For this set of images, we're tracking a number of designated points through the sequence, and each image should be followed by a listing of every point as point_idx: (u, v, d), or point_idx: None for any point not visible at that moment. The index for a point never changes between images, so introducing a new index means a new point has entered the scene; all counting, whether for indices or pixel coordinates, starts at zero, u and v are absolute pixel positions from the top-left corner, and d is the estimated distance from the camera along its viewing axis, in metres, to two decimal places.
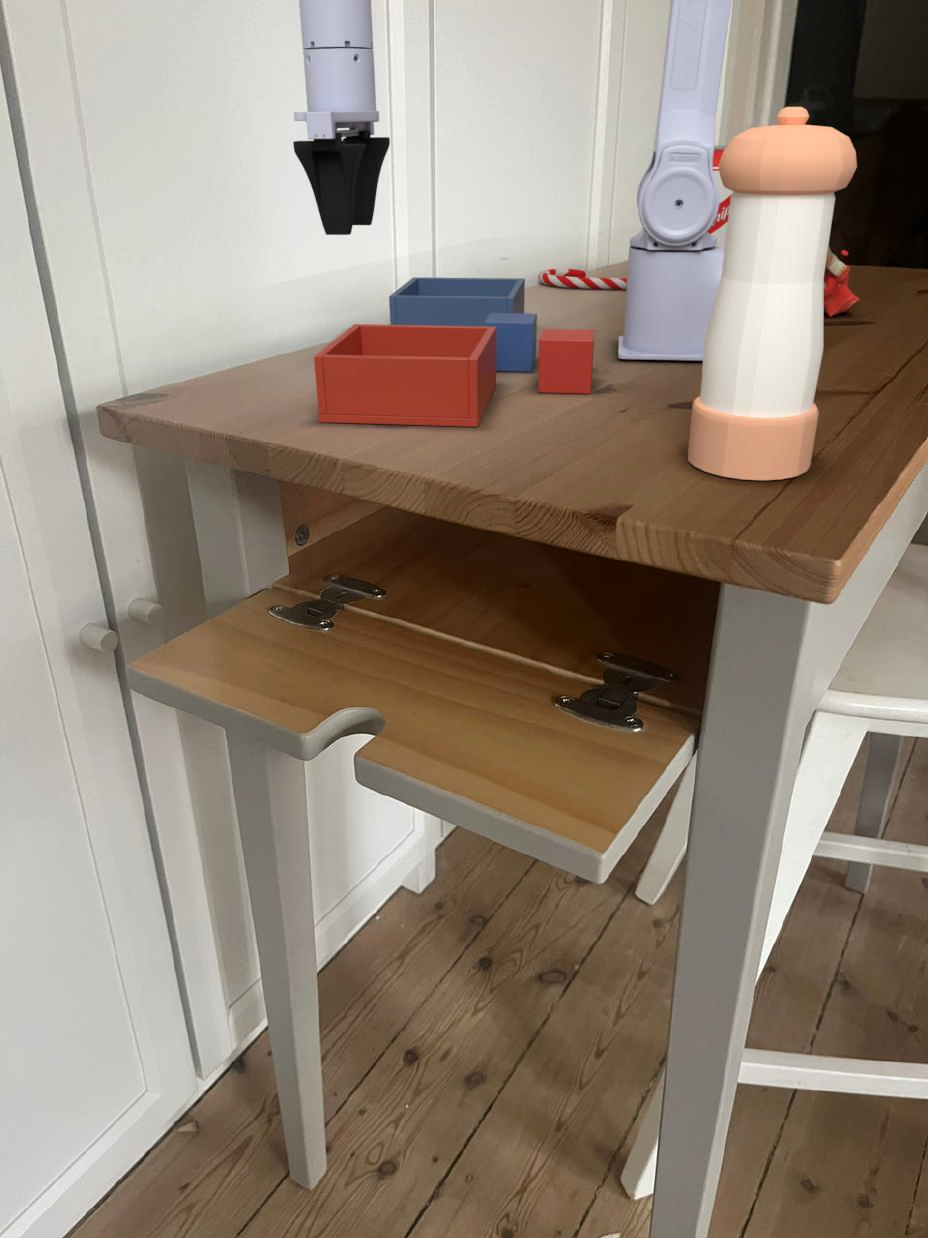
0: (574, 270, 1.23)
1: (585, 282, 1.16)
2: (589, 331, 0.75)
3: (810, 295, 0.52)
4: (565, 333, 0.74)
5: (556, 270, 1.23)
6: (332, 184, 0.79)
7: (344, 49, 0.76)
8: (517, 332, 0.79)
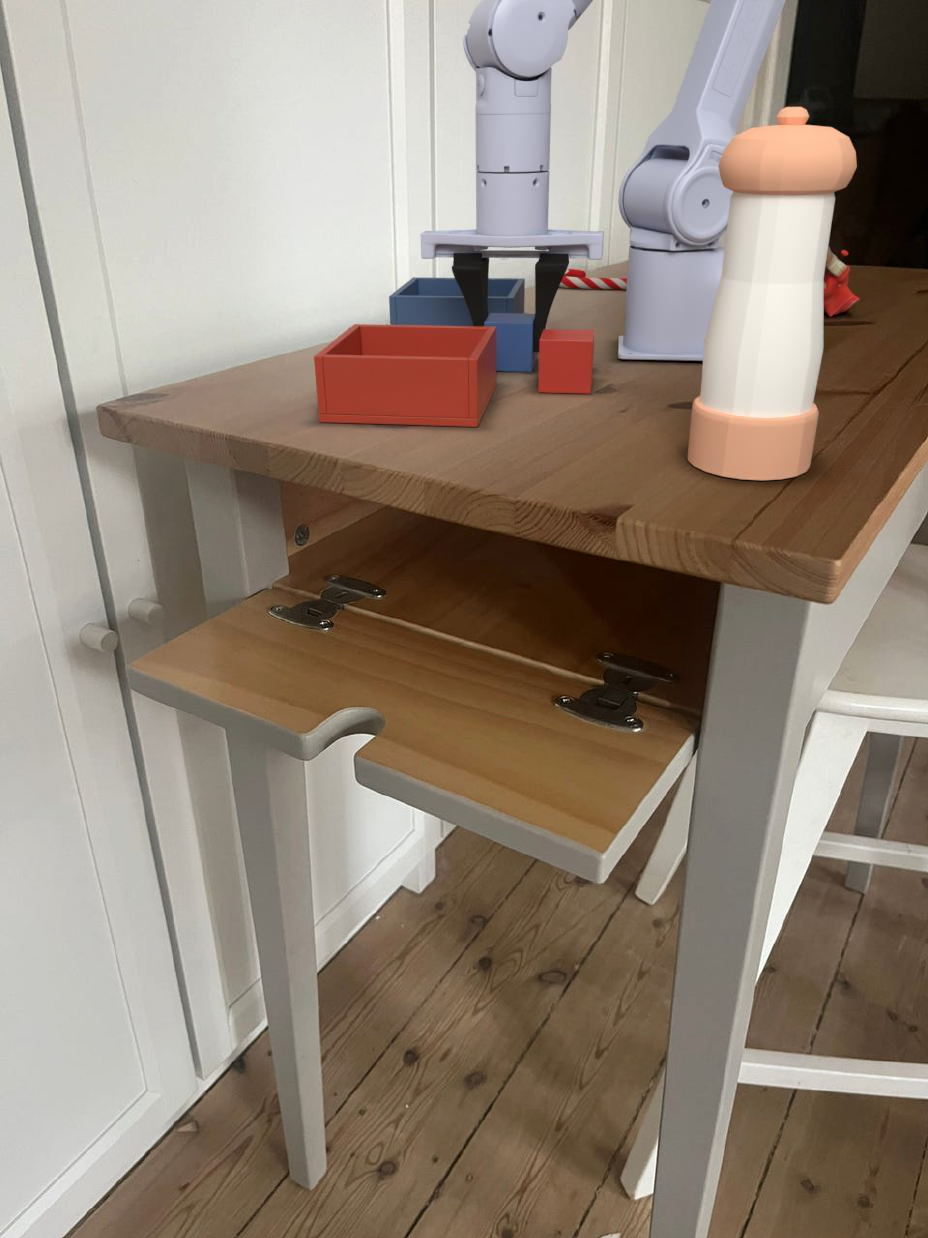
0: (574, 270, 1.23)
1: (585, 282, 1.16)
2: (589, 331, 0.75)
3: (810, 295, 0.52)
4: (565, 333, 0.74)
5: None
6: None
7: (477, 173, 0.74)
8: (516, 333, 0.79)
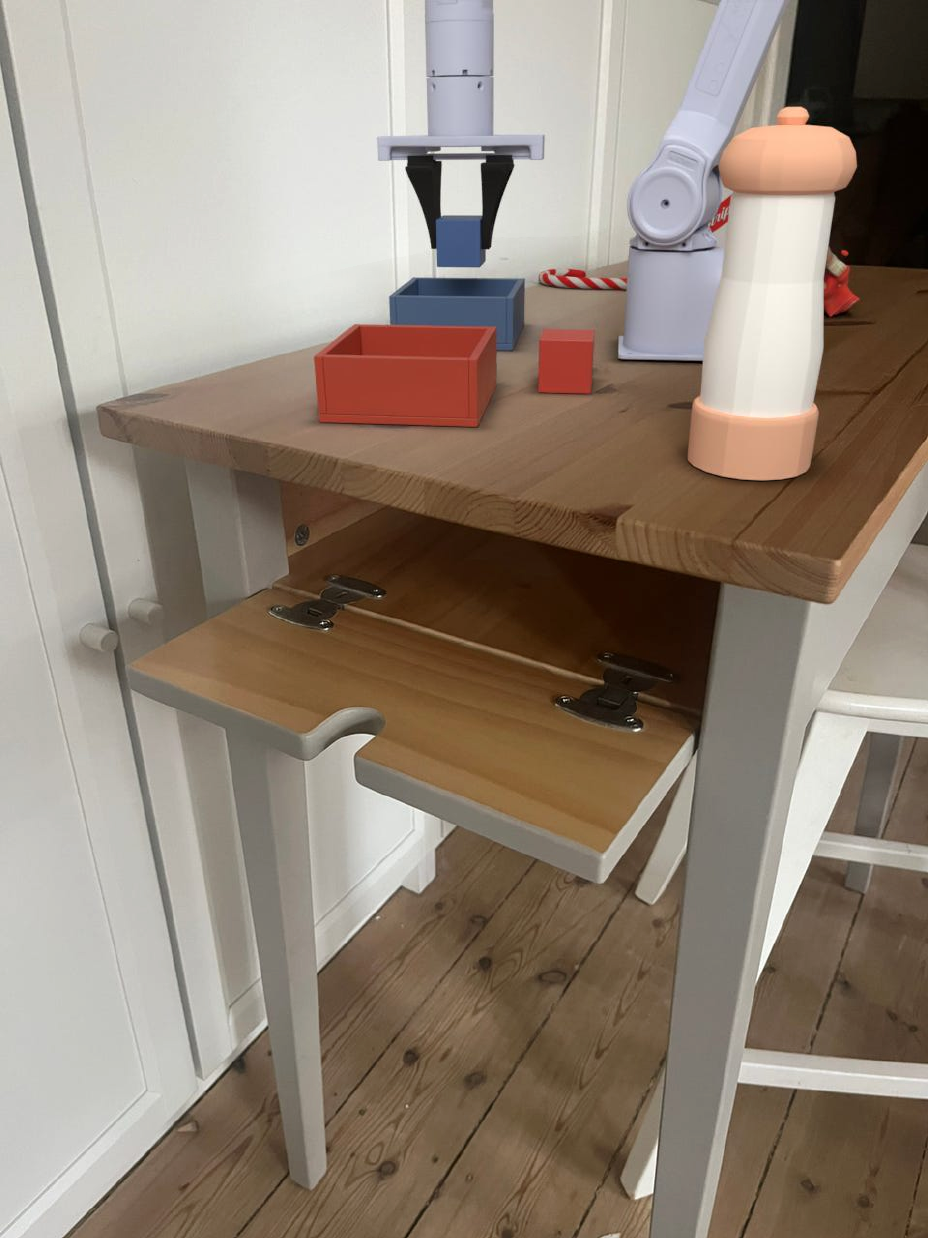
0: (574, 270, 1.23)
1: (585, 282, 1.16)
2: (589, 331, 0.75)
3: (810, 295, 0.52)
4: (565, 333, 0.74)
5: (556, 270, 1.23)
6: None
7: (427, 78, 0.81)
8: (465, 229, 0.86)
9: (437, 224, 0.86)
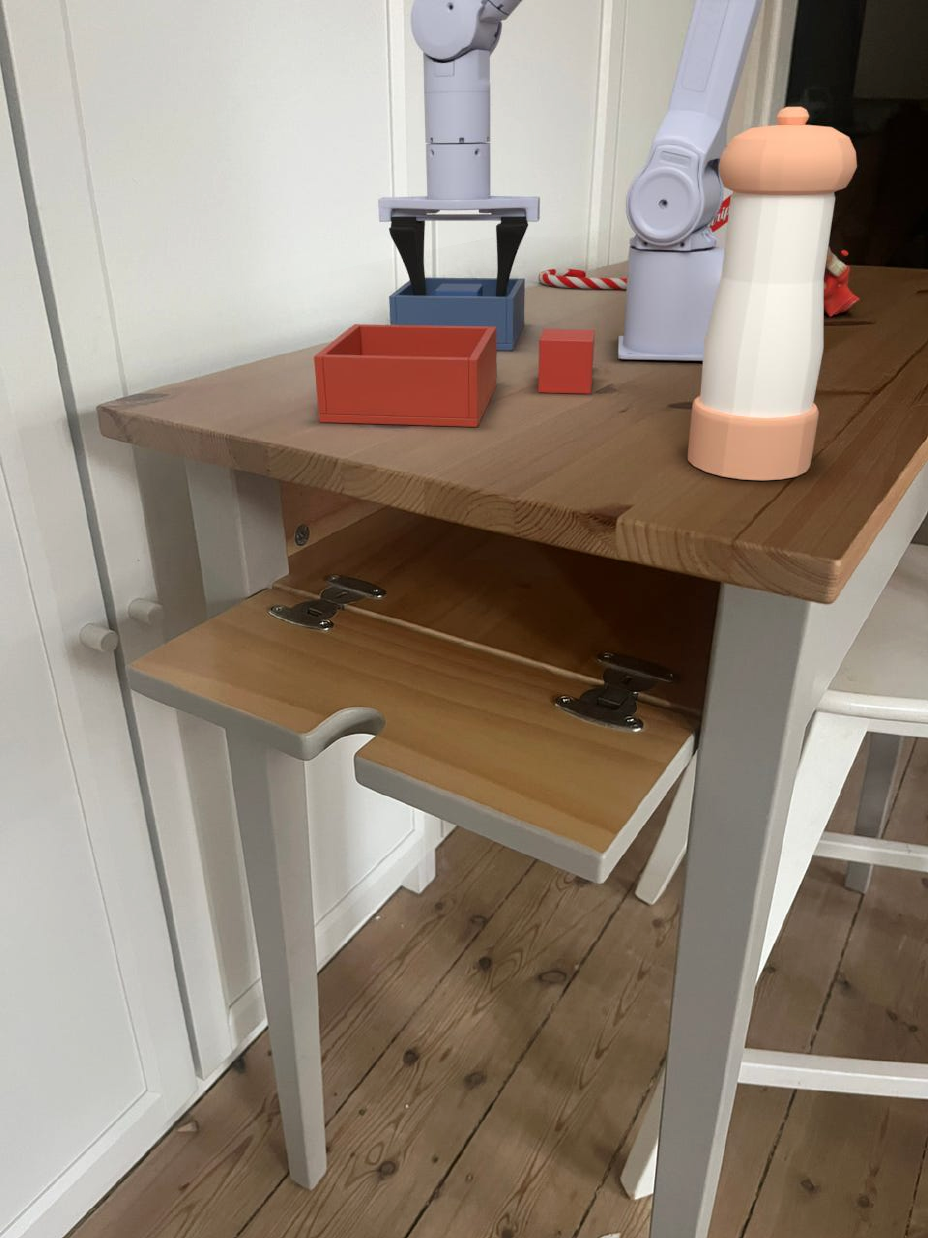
0: (574, 270, 1.23)
1: (585, 282, 1.16)
2: (589, 331, 0.75)
3: (810, 295, 0.52)
4: (565, 333, 0.74)
5: (556, 270, 1.23)
6: None
7: (426, 145, 0.84)
8: None
9: (436, 294, 0.89)
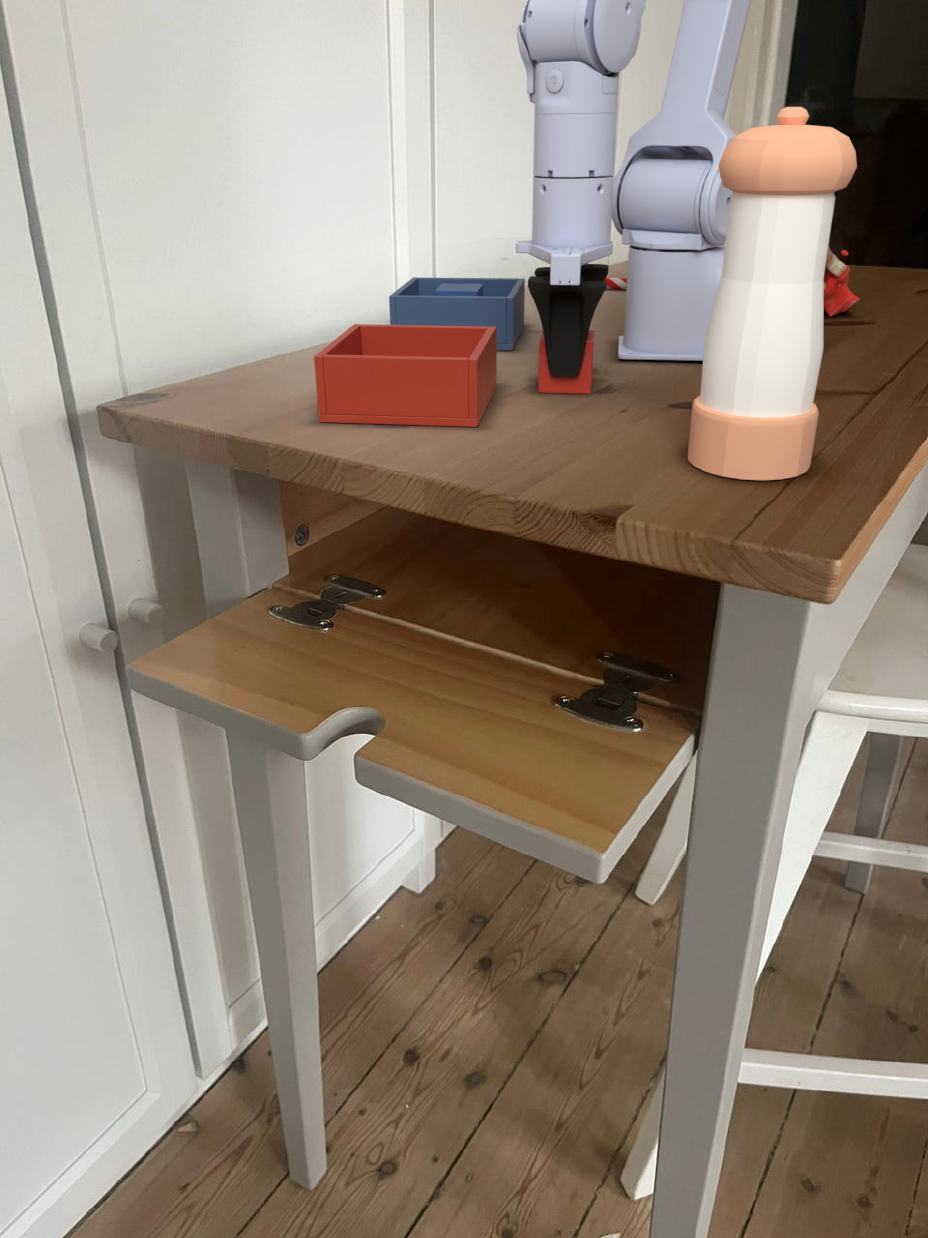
0: None
1: None
2: (589, 331, 0.75)
3: (810, 295, 0.52)
4: None
5: None
6: (565, 324, 0.71)
7: (588, 179, 0.66)
8: None
9: (436, 294, 0.89)
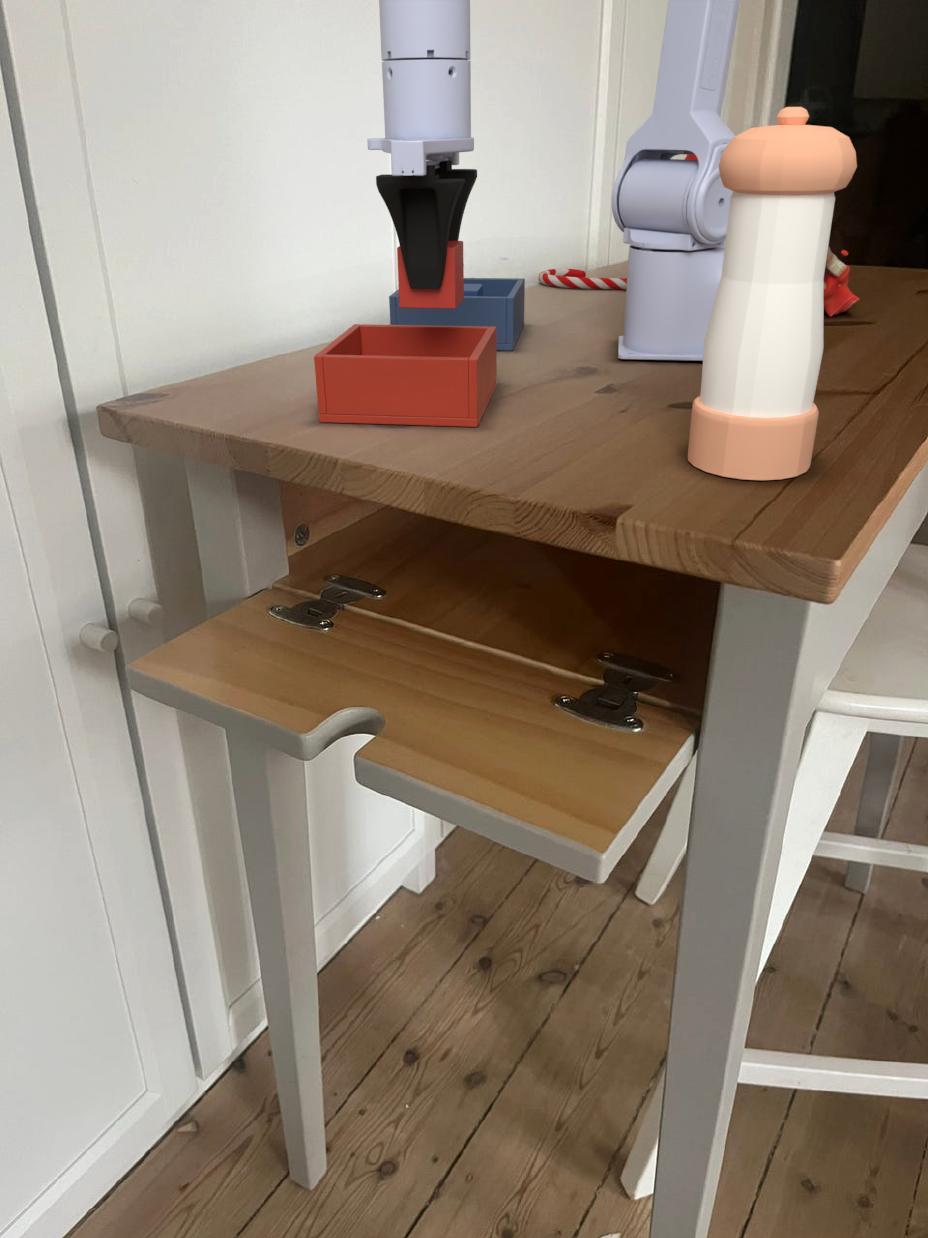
0: (574, 270, 1.23)
1: (585, 282, 1.16)
2: (456, 241, 0.68)
3: (810, 295, 0.52)
4: None
5: (556, 270, 1.23)
6: (421, 228, 0.64)
7: (437, 60, 0.60)
8: None
9: None
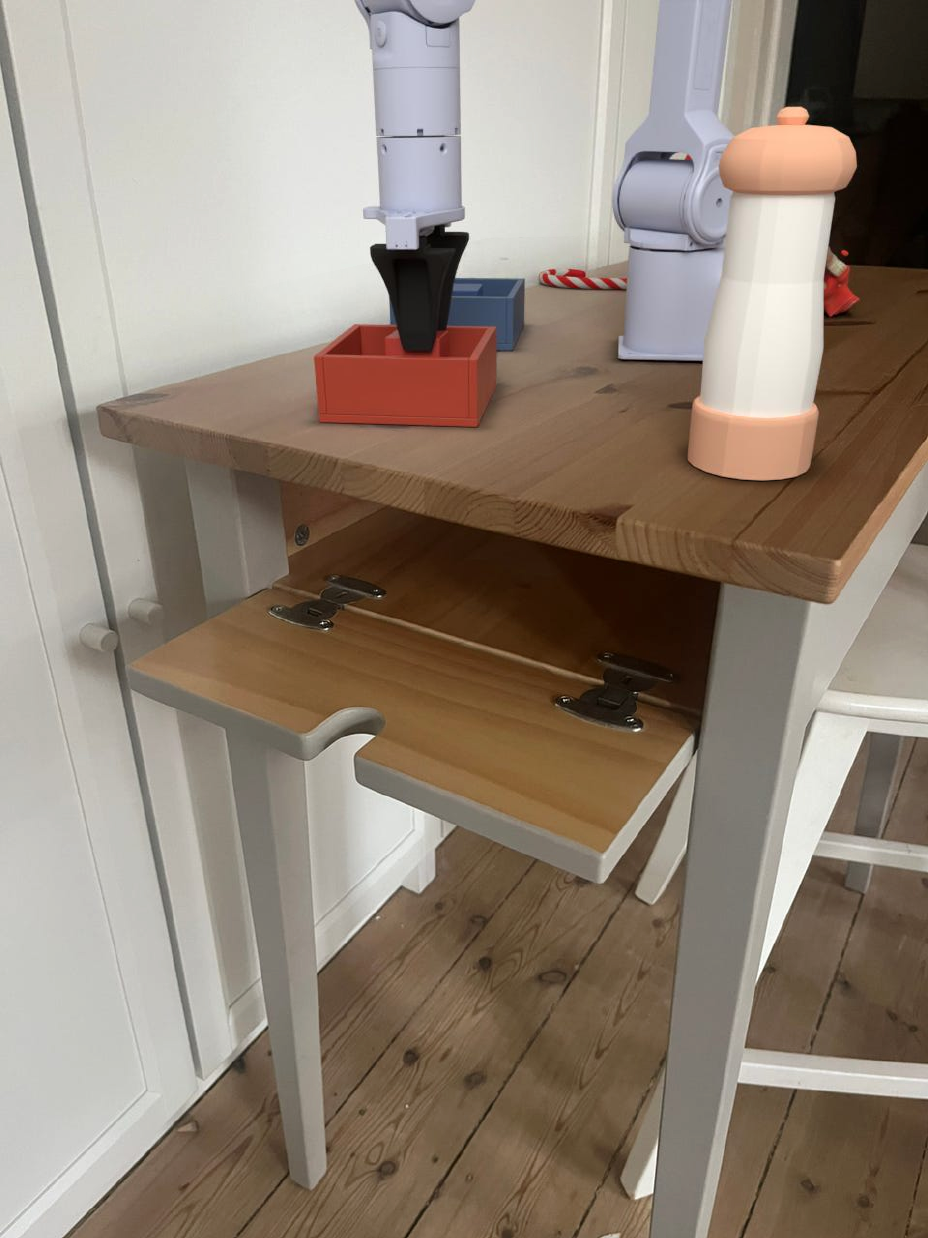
0: (574, 270, 1.23)
1: (585, 282, 1.16)
2: (441, 331, 0.72)
3: (810, 295, 0.52)
4: None
5: (556, 270, 1.23)
6: (414, 294, 0.67)
7: (429, 138, 0.63)
8: None
9: None
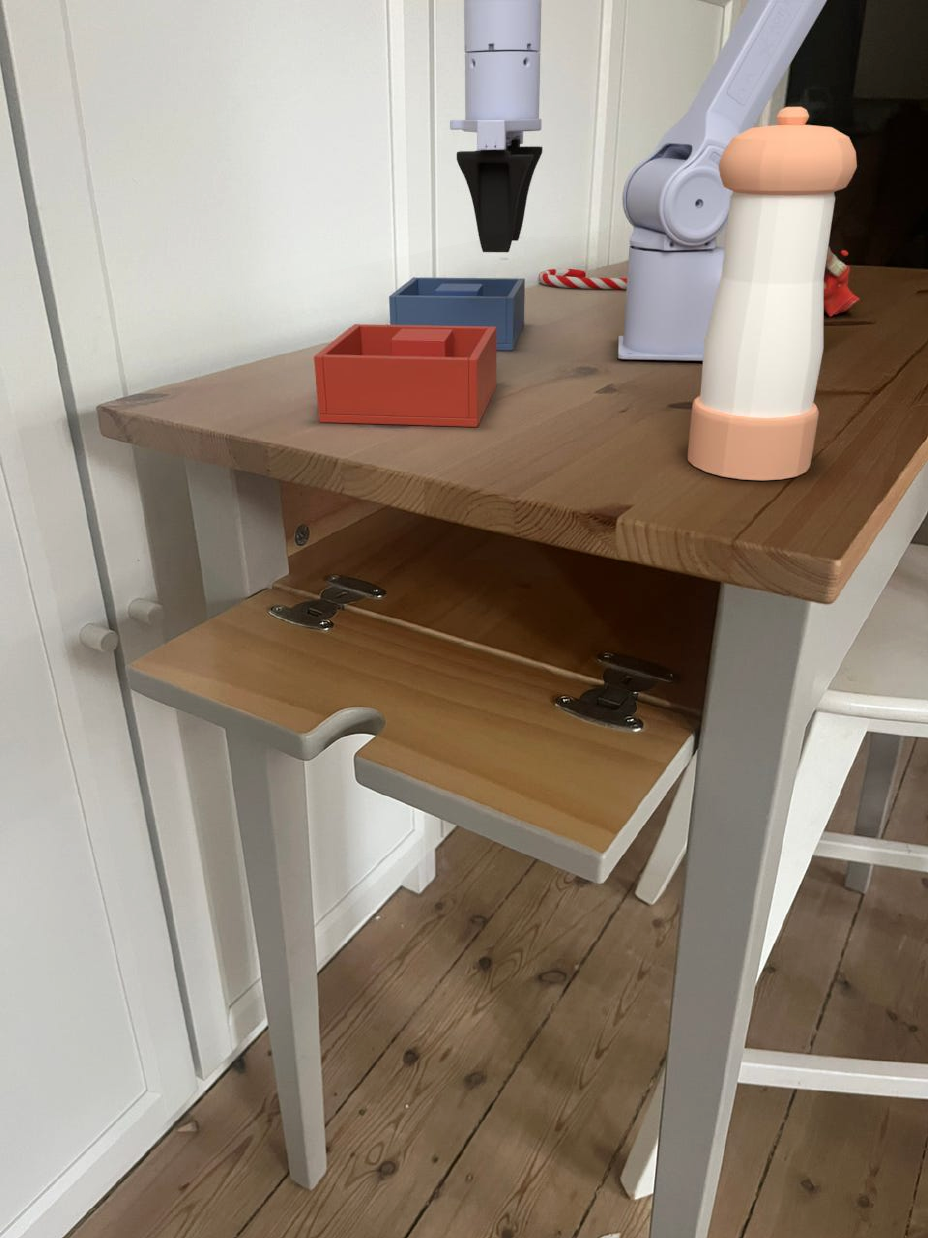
0: (574, 270, 1.23)
1: (585, 282, 1.16)
2: (447, 330, 0.73)
3: (810, 295, 0.52)
4: (421, 332, 0.72)
5: (556, 270, 1.23)
6: (494, 198, 0.73)
7: (514, 52, 0.70)
8: None
9: (436, 294, 0.89)
